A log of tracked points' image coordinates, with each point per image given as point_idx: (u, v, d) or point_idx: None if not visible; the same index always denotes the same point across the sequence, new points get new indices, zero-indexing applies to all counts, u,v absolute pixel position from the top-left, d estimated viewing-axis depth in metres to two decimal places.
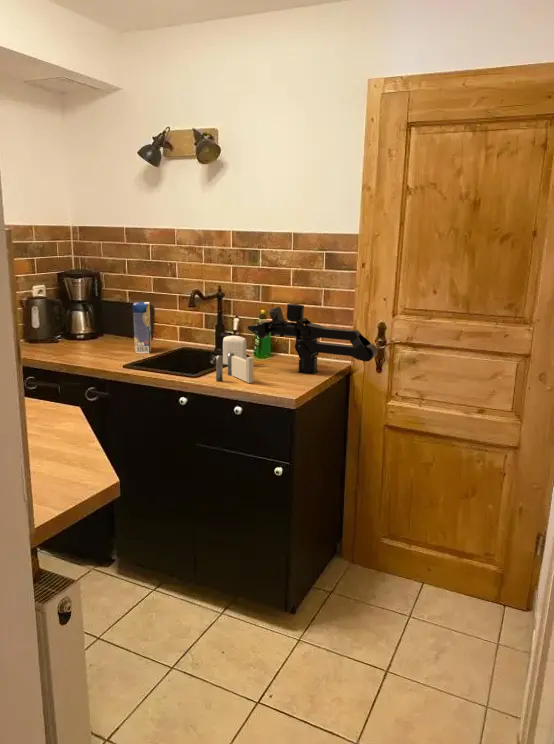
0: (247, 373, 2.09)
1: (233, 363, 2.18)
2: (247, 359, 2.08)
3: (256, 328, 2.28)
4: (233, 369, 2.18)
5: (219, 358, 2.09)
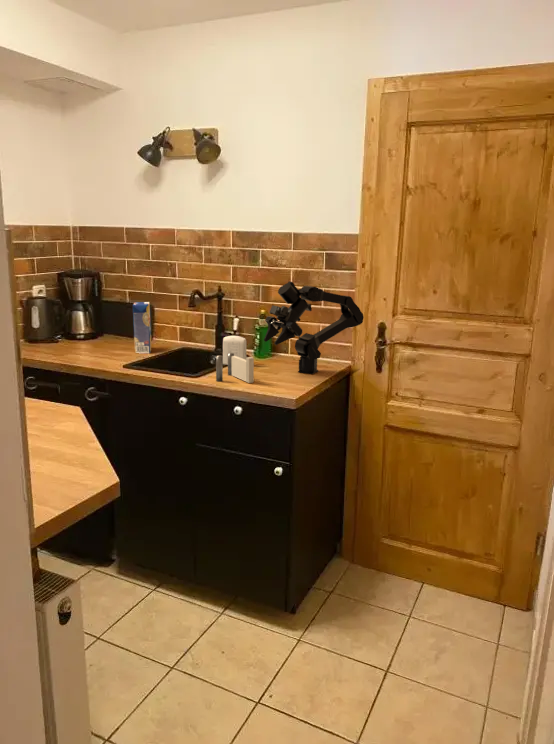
0: (247, 373, 2.09)
1: (233, 363, 2.18)
2: (247, 359, 2.08)
3: (284, 335, 2.12)
4: (233, 369, 2.18)
5: (219, 358, 2.09)
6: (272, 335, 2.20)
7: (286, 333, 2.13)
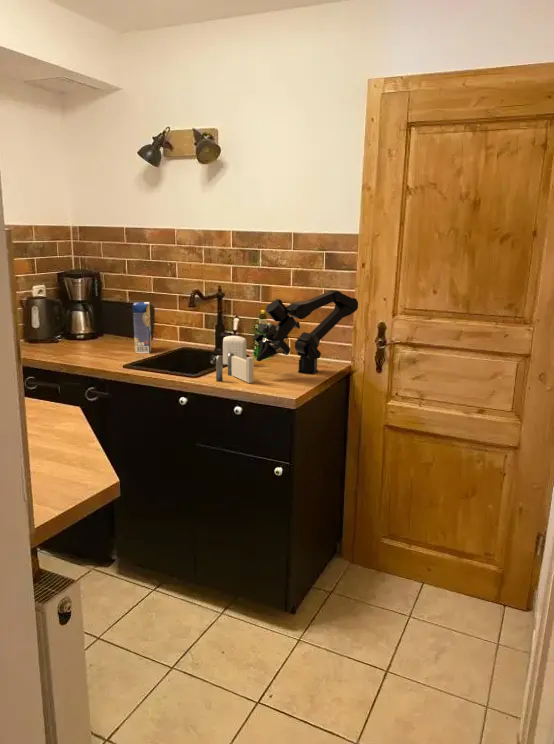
0: (247, 373, 2.09)
1: (233, 363, 2.18)
2: (247, 359, 2.08)
3: (266, 351, 2.14)
4: (233, 369, 2.18)
5: (219, 358, 2.09)
6: None
7: (269, 350, 2.14)
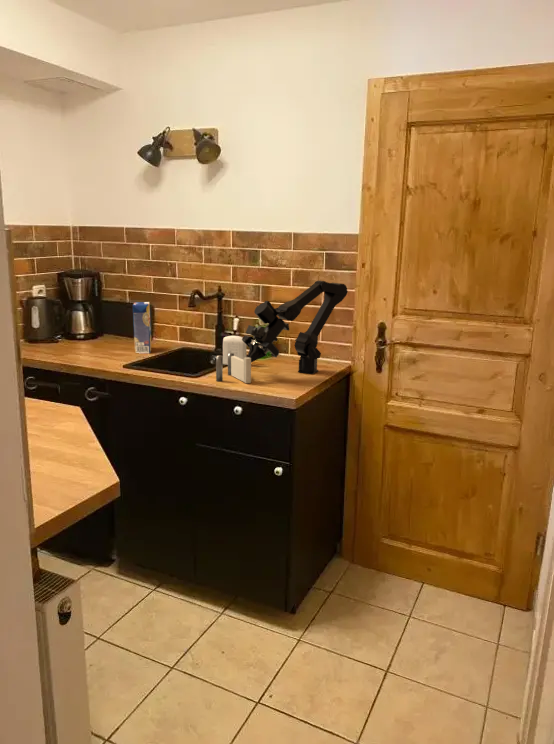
0: (244, 373, 2.09)
1: (232, 363, 2.18)
2: (244, 359, 2.07)
3: (255, 354, 2.11)
4: (232, 369, 2.18)
5: (219, 358, 2.09)
6: None
7: (258, 352, 2.12)
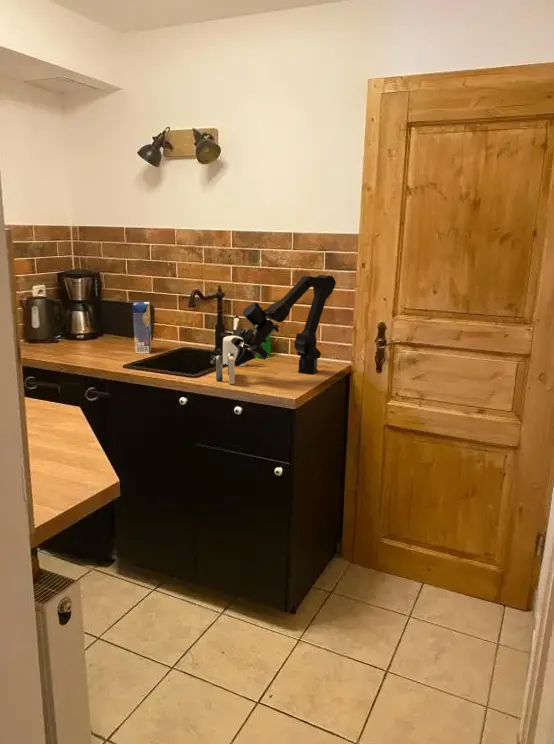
0: (229, 374, 2.07)
1: None
2: (229, 360, 2.06)
3: (244, 356, 2.09)
4: None
5: (219, 358, 2.09)
6: None
7: (246, 354, 2.09)
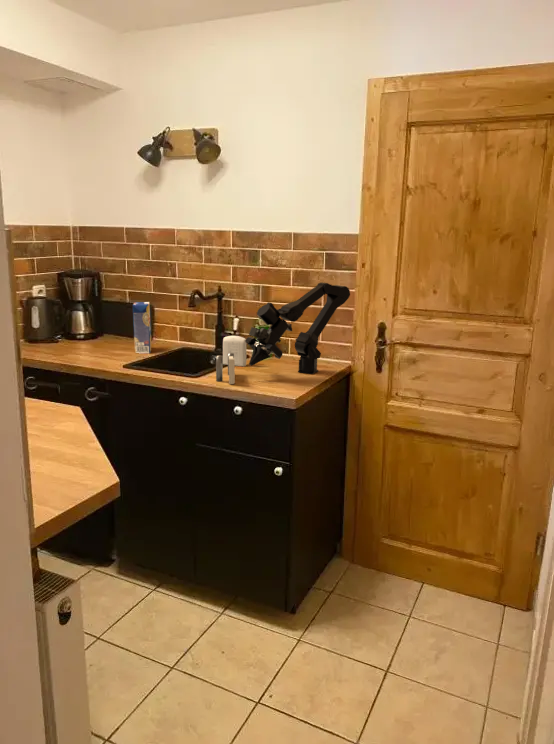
0: (229, 374, 2.07)
1: None
2: (229, 360, 2.06)
3: (259, 355, 2.12)
4: None
5: (219, 358, 2.09)
6: None
7: (261, 353, 2.13)
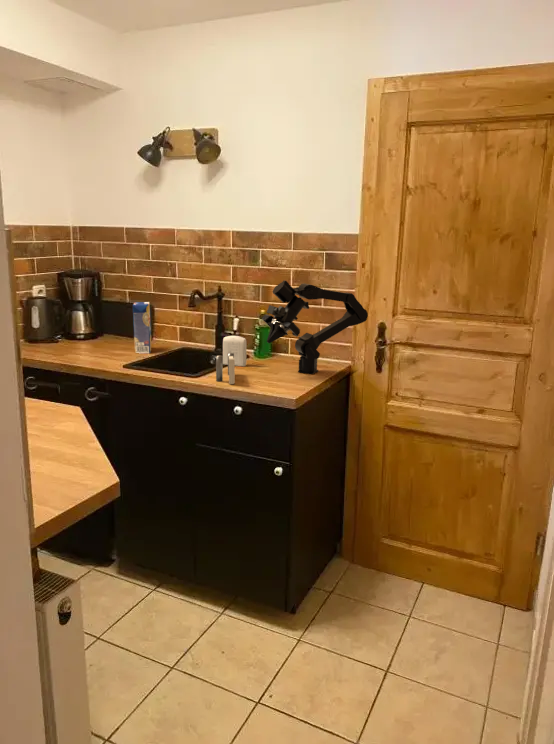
0: (229, 374, 2.07)
1: None
2: (229, 360, 2.06)
3: (276, 333, 2.16)
4: None
5: (219, 358, 2.09)
6: None
7: (278, 331, 2.17)
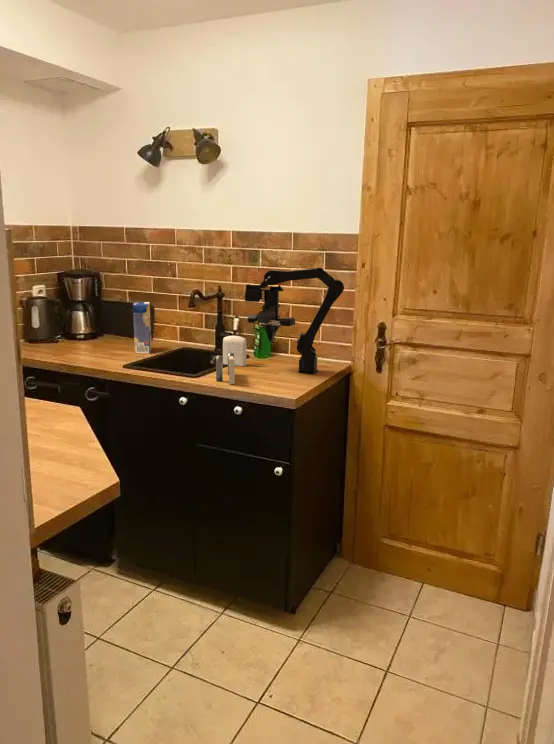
0: (229, 374, 2.07)
1: None
2: (229, 360, 2.06)
3: (274, 330, 2.25)
4: None
5: (219, 358, 2.09)
6: None
7: None
